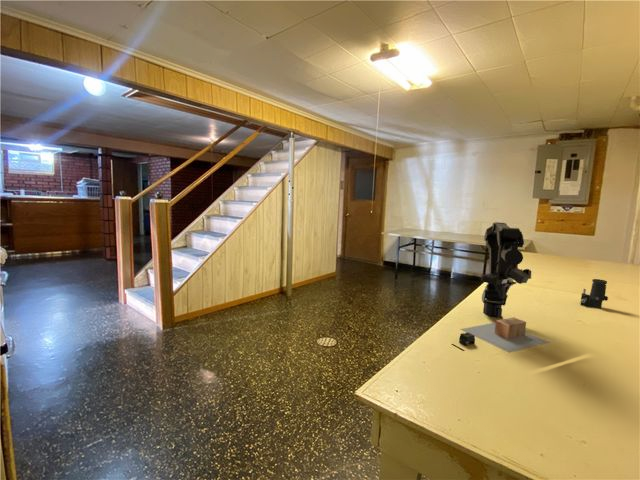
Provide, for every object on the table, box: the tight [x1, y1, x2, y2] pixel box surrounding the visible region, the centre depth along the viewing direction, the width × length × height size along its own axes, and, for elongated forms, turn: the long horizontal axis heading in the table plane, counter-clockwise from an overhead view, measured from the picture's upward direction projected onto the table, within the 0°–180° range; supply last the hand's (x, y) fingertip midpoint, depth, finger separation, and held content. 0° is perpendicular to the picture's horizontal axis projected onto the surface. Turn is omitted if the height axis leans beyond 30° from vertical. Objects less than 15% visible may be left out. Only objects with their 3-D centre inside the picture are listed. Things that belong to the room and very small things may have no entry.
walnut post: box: [495, 317, 527, 339], centre depth 118 cm, size 5×5×10 cm
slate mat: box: [460, 321, 550, 353], centre depth 117 cm, size 20×22×1 cm
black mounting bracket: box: [451, 332, 476, 352], centre depth 109 cm, size 12×7×5 cm, turn 113°
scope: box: [580, 278, 609, 310], centre depth 156 cm, size 8×14×10 cm
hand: (501, 298), depth 123 cm, fingers closed
